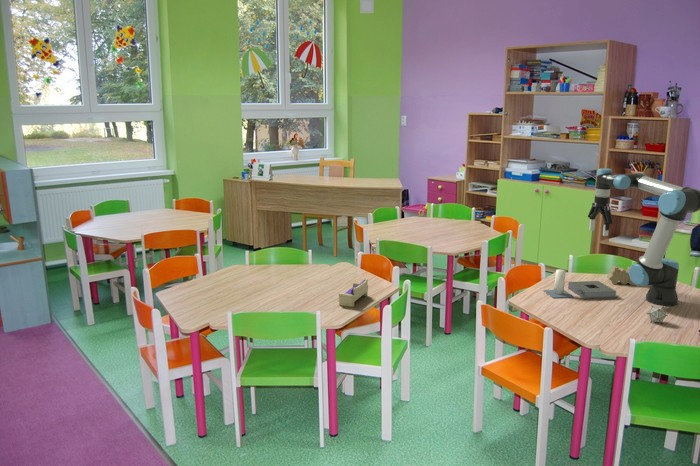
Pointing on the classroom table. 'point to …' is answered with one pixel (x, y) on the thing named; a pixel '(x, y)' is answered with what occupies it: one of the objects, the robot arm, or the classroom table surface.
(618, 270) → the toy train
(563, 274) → the end plug
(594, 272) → the classroom table surface
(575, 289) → the housing
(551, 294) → the mat
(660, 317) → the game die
